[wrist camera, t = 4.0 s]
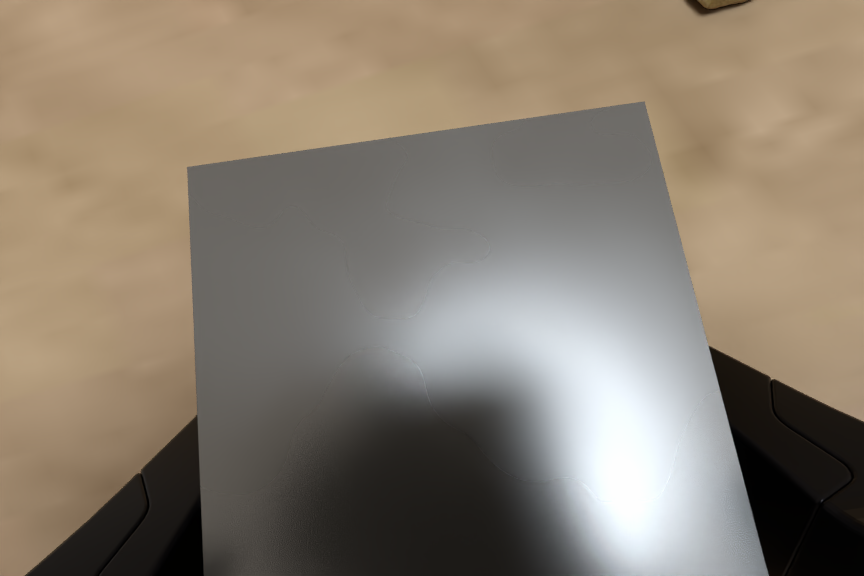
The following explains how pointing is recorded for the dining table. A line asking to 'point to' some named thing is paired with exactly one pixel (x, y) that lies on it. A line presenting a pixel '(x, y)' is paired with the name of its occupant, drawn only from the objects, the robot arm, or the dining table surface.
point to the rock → (718, 3)
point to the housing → (459, 361)
